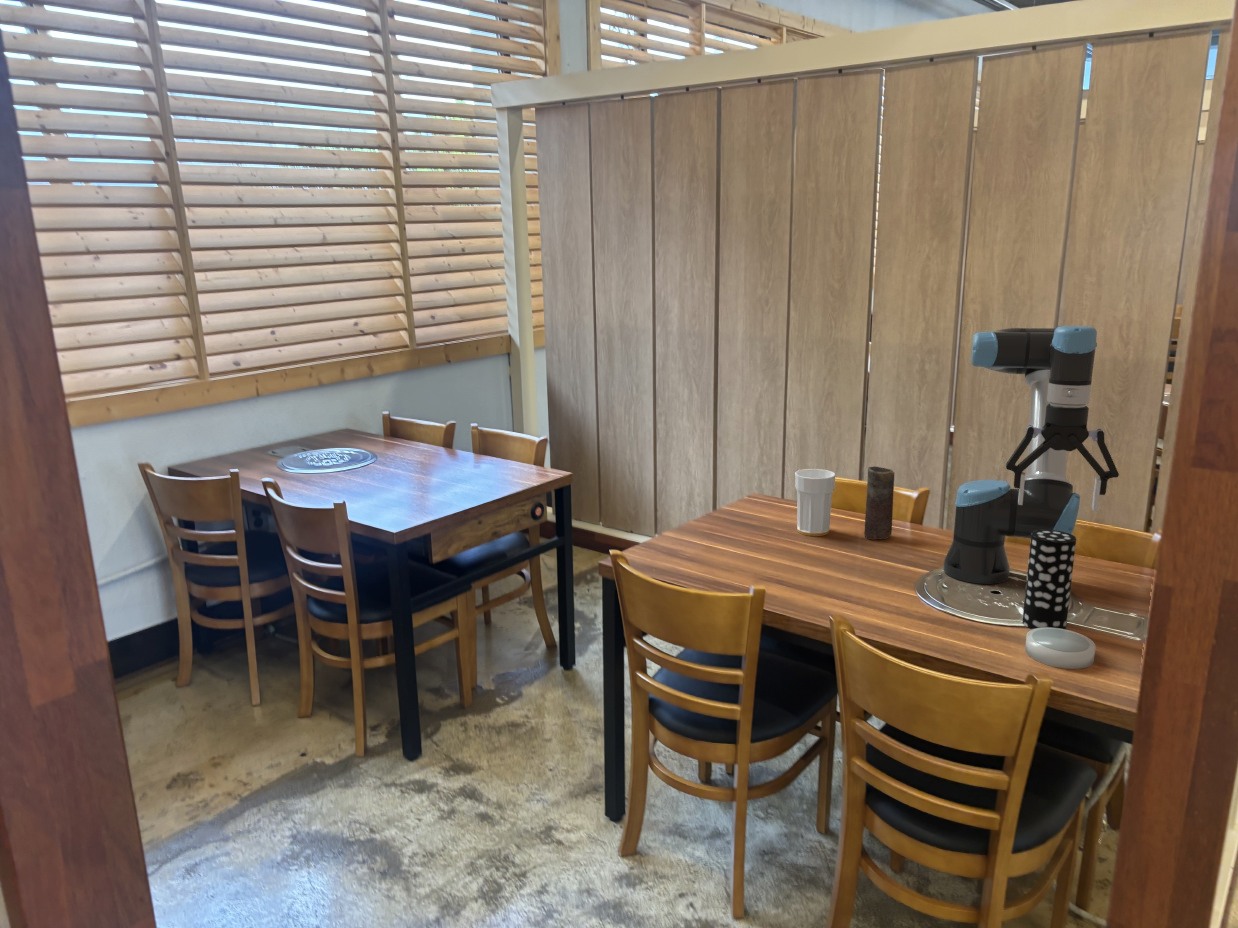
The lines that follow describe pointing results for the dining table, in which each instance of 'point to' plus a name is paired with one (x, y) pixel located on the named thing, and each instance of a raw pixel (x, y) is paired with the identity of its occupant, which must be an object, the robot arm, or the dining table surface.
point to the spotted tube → (1049, 579)
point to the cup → (814, 501)
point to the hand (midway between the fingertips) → (1056, 506)
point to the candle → (879, 503)
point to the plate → (1060, 648)
